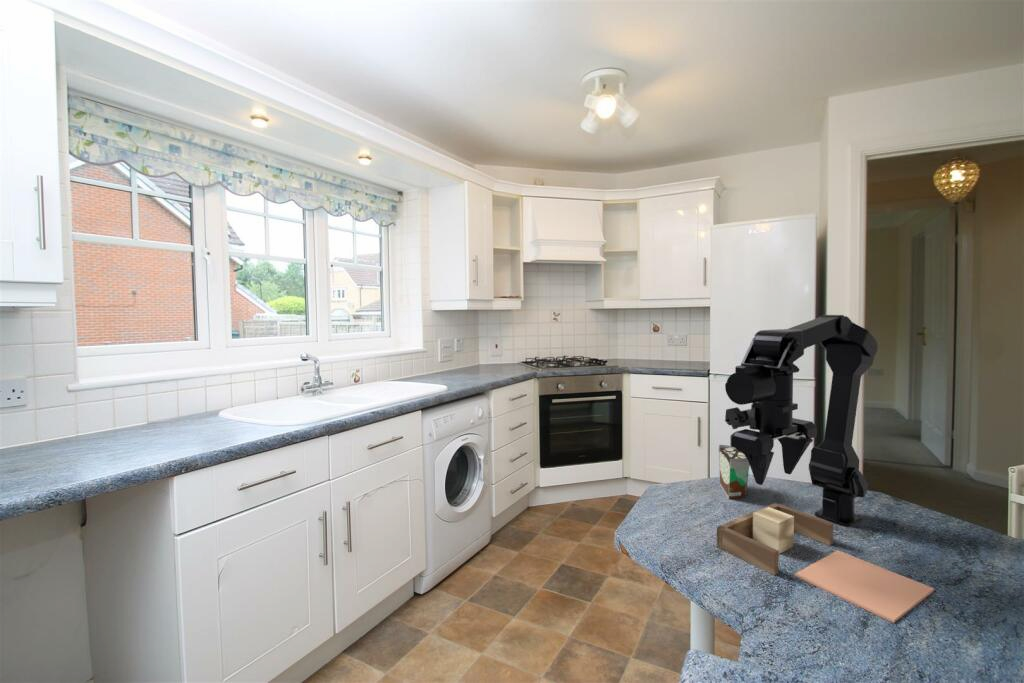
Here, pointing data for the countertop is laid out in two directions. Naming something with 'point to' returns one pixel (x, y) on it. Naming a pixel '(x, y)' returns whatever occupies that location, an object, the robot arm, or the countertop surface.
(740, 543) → the open side box
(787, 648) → the countertop surface
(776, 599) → the countertop surface
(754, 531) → the maple block
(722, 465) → the food container
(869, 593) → the mat
